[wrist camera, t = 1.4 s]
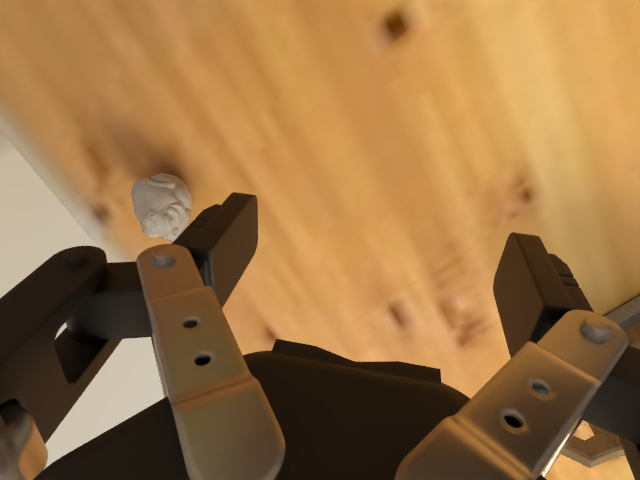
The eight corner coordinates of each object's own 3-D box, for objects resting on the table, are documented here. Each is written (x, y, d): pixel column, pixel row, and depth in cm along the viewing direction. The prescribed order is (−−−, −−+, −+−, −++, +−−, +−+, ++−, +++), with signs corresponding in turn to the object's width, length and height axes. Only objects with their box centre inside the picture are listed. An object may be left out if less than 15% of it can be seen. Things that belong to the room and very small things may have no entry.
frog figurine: (180, 226, 50) (149, 258, 44) (140, 176, 47) (101, 203, 41) (218, 204, 47) (190, 235, 41) (177, 151, 45) (142, 175, 39)
